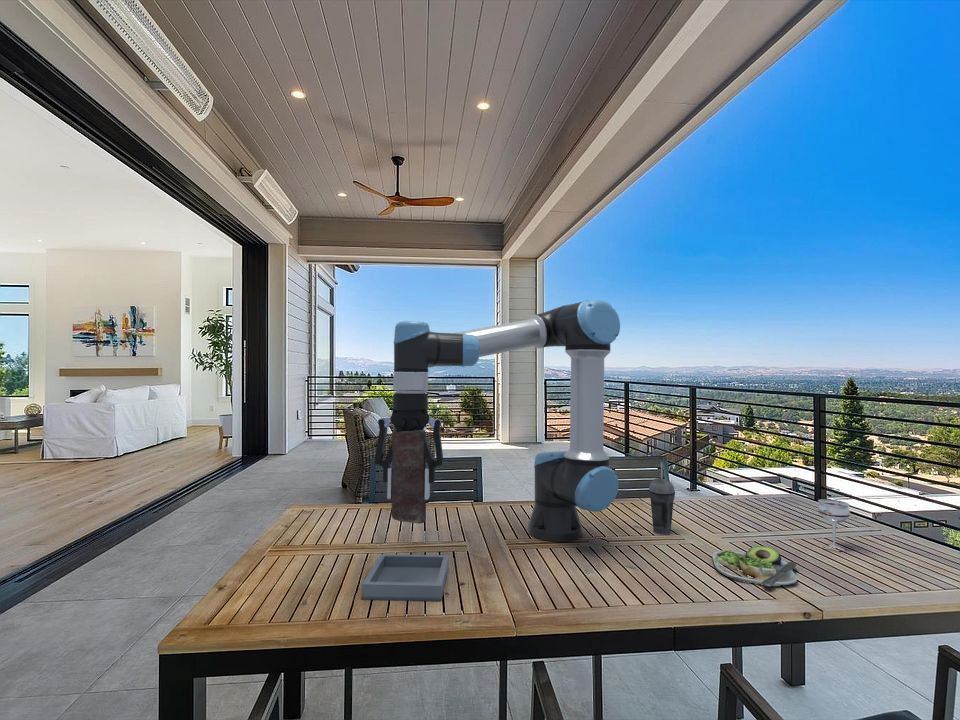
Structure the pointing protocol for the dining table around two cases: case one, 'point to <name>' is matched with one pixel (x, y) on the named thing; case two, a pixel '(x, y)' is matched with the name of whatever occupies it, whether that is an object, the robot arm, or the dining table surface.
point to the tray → (407, 578)
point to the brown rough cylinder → (408, 476)
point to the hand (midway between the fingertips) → (408, 497)
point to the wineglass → (834, 513)
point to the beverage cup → (662, 504)
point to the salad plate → (757, 566)
